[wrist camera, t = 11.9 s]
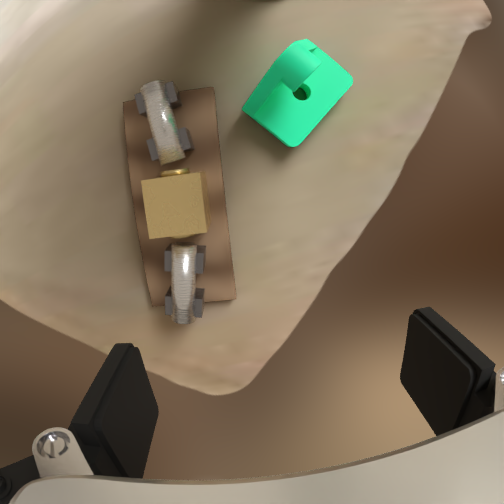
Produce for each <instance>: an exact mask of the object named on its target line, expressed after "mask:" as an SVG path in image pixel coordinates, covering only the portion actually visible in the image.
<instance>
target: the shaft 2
mask: <svg viewBox="0 0 504 504" xmlns="http://www.w3.org/2000/svg"><path fill="white" fill-rule="evenodd" d="M205 265H206V246H203V245H196V244H195V243H191V242H175V243H172V244H171V243H170V244H169V246H168V247H167V248H166V250H165V271H169V272H171V286H170V287H169V289H168V291H167V293H166V295H165V315H172V320H173V321H174V322H176V323H179V324H189V323H192V322H193V321H194V320H195V317H201V318H202V314H203V309H204V294H205V288H196V273H197V274H203V272H204V268H205Z"/></svg>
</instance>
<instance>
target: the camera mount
mask: <svg viewBox="0 0 504 504" xmlns="http://www.w3.org/2000/svg"><path fill="white" fill-rule="evenodd" d="M352 84H353V79H352V76H351V75H350V74H349V73H348V72H347V71H346V70H344V69H343V68H342V67H341V66H340V65H339V64H338V63H336V62H335V61H334V60H333V59H332V58H330V57H329V56H328V55H327V54H326V53H324V52H323V51H322V50H321V49H320V48H318V47H317V46H316V45H315V44H313V43H312V42H311V41H309V40H308V39H305V40H299V41H295V42H293V43H292V44H291V45H290V46H289V47H288V48H287V49H286V50H285V51H284V52H283V53H282V54H281V55H280V56H279V57H278V58H277V60H276V61H275V62H274V63H273V65H272V66H271V67H270V69H269V70H268V72H267V73H266V74H265V76H264V77H263V79H262V80H261V81H260V83H259V84H258V86H257V87H256V89H255V90H254V91H253V93H252V94H251V96H250V97H249V99H248V100H247V102H246V103H245V105H244V106H243V107H242V110H243V111H244V112H245V113H246V114H248V115H249V116H250V117H251V118H253V119H254V120H255V121H257V122H258V123H259V124H260V125H262V126H263V127H264V128H265V129H266V130H268V131H269V132H270V133H271V134H273V135H274V136H275V137H276V138H277V139H279V140H280V141H281V142H282V143H283V144H285V145H286V146H288V147H295V146H298V145H299V144H300V143H301V142H302V141H303V140H304V139H305V138H306V137H307V135H308V134H309V133H310V132H311V131H312V130H313V128H314V127H315V126H316V125H317V124H318V123H319V122H320V120H321V119H322V118H323V117H324V116H325V115H326V114H327V112H328V111H329V110H330V109H331V108H332V107H333V106H334V105H335V103H336V102H337V101H338V100H339V99H340V98H341V97H342V96H343V94H344V93H345V92H346V91H347V90H348V89H349V88H350V87H351V85H352ZM298 88H301V89H303V90H304V91H305V92H306V95H307V98H306V100H298V99H296V98H295V97H294V95H293V92H295V91H296V90H297V89H298ZM292 91H293V92H292Z"/></svg>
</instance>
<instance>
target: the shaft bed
mask: <svg viewBox="0 0 504 504" xmlns="http://www.w3.org/2000/svg"><path fill="white" fill-rule="evenodd" d="M179 95H180V98H181V102H182V106H180V107H177V108H174V109H172V110H173V114H174V117H175V121H176V124H177V128H178V129H180V128H183V127H186V128H187V129H189V131H190V134H191V138H192V141H193V145H194V148H195V149H194V150H191V151H188V152H185V156H186V158H184V159H182V160H179V161H176V162H173V163H169V164H166V165H162V166H161V165H160V161H152V159H151V155H150V152H149V148H148V145H147V141H146V140H148V139H151V138H153V137H152V133H151V129H150V126H149V122H148V118H146V117H144V116H142V115H140V114H139V111H138V107H137V103H136V100H132V101H127V102H123V110H124V124H125V136H126V146H127V156H128V165H129V174H130V182H131V190H132V197H133V204H134V211H135V217H136V224H137V230H138V236H139V242H140V247H141V253H142V258H143V263H144V269H145V274H146V279H147V283H148V288H149V293H150V297H151V302H152V306H164V305H165V295H166V293H167V291H168V289H169V287H170V286H171V272H169V271H165V250H166V248H167V247H168V246H169V244H170V243H171V244H172V243H175V242H191V243H195V244H196V245H203V246H206V265H205V268H204V272H203V274H197V273H196V288H205V294H204V302H211V301H221V300H232V299H236V289H235V281H234V272H233V264H232V256H231V247H230V238H229V230H228V221H227V212H226V203H225V193H224V184H223V175H222V165H221V155H220V145H219V135H218V125H217V115H216V104H215V93H214V87H207V88H200V89H192V90H186V91H179ZM183 168H190V173H193V172H201V171H206V179H207V188H208V197H209V206H210V214H211V224H210V226H209V229H208V231H207V233H198V234H196V235H194V236H191V237H186V238H180V239H171V238H169V237H163V238H154V239H149V233H148V227H147V221H146V214H145V207H144V200H143V192H142V184H141V181H142V180H147V179H152V178H157V177H161V176H160V172H162V171H168V170H175V169H183Z"/></svg>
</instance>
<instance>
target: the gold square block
mask: <svg viewBox="0 0 504 504" xmlns="http://www.w3.org/2000/svg"><path fill="white" fill-rule="evenodd" d="M160 176H161V177H157V178H152V179H147V180H142V181H141V184H142V192H143V200H144V207H145V214H146V221H147V227H148V233H149V239H154V238H163V237H169V238H171V239H180V238H186V237H191V236H194V235H196V234H198V233H207V231H208V229H209V226H210V224H211V214H210V206H209V197H208V188H207V179H206V171H201V172H193V173H190V168H183V169H175V170H168V171H162V172H160Z"/></svg>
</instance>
